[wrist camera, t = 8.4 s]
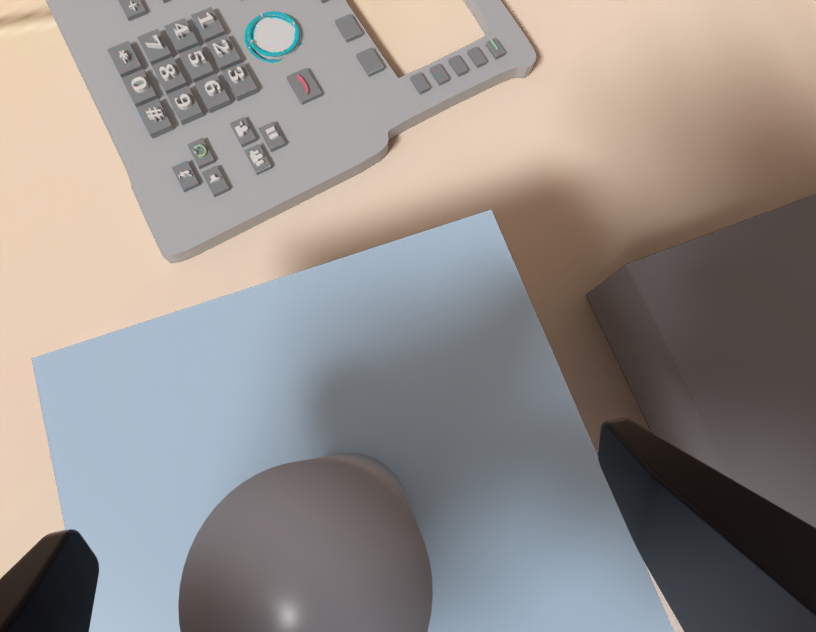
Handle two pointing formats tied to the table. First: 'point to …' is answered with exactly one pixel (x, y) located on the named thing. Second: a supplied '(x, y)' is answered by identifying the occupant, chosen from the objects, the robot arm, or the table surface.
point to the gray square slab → (728, 349)
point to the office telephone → (258, 101)
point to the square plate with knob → (344, 458)
